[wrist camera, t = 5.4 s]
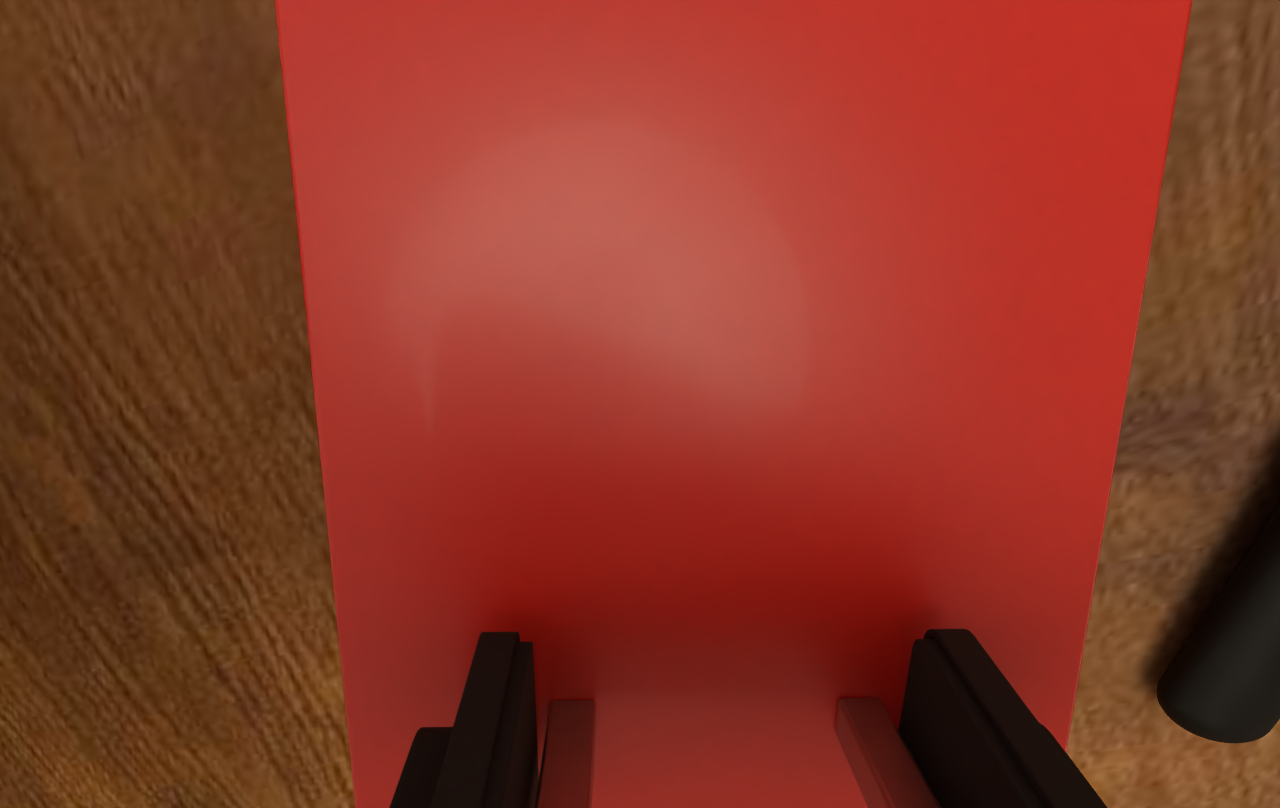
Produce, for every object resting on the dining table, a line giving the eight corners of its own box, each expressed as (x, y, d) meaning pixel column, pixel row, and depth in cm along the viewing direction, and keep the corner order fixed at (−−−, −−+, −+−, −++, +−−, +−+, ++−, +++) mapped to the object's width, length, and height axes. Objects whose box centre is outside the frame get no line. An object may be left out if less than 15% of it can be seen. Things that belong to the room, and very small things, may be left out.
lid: (1027, 804, 13) (1398, 1317, 7) (373, 815, 12) (141, 1365, 6) (1156, -27, 10) (2057, -469, 4) (294, -42, 9) (-306, -560, 3)
